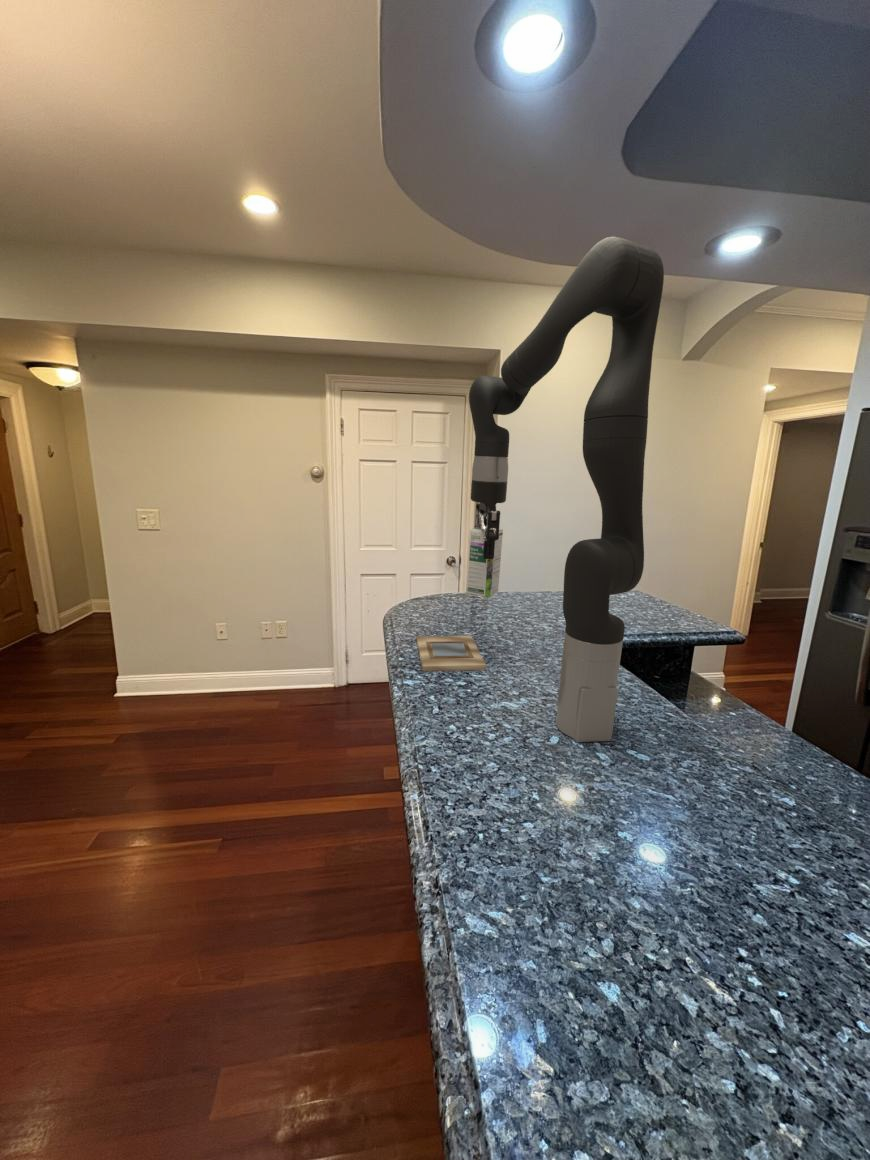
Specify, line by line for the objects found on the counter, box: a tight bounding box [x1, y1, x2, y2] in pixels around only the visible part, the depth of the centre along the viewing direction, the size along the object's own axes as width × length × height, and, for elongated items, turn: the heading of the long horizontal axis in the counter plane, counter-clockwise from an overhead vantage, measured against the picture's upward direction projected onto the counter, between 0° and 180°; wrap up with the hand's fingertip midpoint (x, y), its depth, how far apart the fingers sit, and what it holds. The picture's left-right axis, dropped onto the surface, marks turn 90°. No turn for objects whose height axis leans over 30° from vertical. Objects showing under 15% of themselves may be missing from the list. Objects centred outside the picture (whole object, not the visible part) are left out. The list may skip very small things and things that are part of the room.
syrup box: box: [465, 527, 504, 599], centre depth 105 cm, size 6×6×14 cm
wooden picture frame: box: [415, 635, 487, 672], centre depth 113 cm, size 18×14×1 cm
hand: (484, 554), depth 105 cm, fingers closed on syrup box, 8 cm apart
